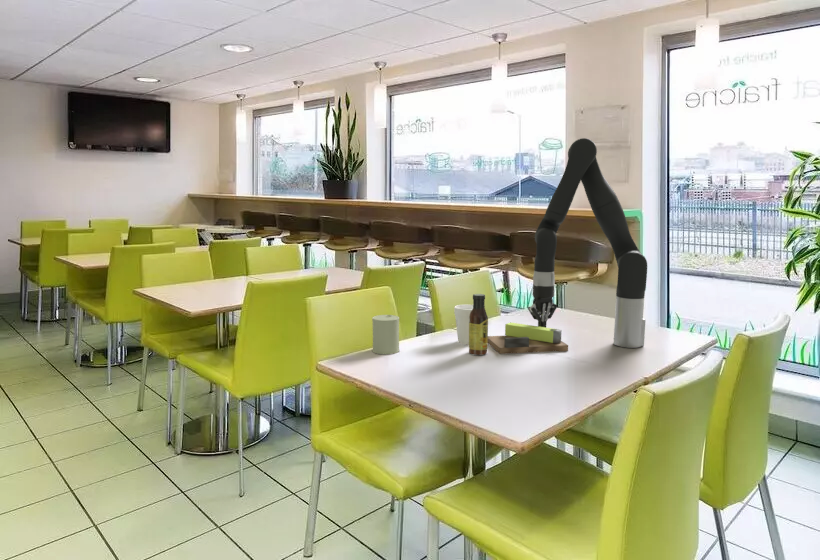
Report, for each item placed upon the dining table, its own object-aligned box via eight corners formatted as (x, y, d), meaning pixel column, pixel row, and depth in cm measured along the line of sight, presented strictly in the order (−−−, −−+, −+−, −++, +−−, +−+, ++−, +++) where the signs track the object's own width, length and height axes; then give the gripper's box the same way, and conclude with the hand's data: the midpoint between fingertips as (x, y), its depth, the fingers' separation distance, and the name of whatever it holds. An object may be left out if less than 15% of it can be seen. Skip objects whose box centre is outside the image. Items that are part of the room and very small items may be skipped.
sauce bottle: (486, 356, 187) (488, 296, 184) (467, 355, 188) (468, 296, 185) (488, 351, 193) (489, 293, 190) (469, 350, 194) (470, 292, 191)
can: (404, 349, 196) (404, 314, 194) (391, 355, 187) (391, 320, 186) (380, 345, 200) (380, 312, 198) (367, 352, 191) (367, 317, 189)
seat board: (549, 339, 209) (549, 325, 208) (568, 350, 193) (568, 336, 193) (486, 341, 205) (486, 328, 204) (500, 353, 190) (500, 339, 189)
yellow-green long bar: (562, 341, 197) (563, 329, 196) (558, 343, 194) (558, 332, 193) (510, 333, 208) (510, 322, 208) (505, 335, 205) (505, 324, 205)
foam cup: (450, 344, 202) (450, 308, 200) (458, 338, 210) (458, 303, 208) (476, 347, 198) (477, 310, 196) (483, 340, 206) (484, 305, 205)
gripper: (549, 280, 211) (547, 326, 213) (522, 283, 204) (521, 331, 206) (564, 283, 204) (562, 330, 207) (537, 286, 197) (536, 335, 200)
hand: (541, 330), depth 206 cm, fingers closed
